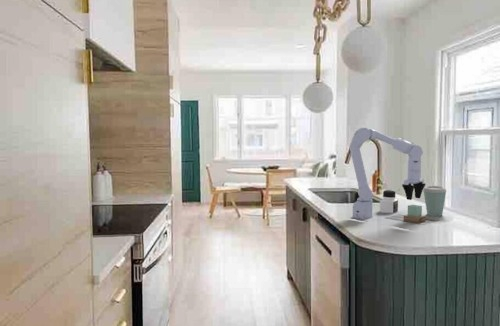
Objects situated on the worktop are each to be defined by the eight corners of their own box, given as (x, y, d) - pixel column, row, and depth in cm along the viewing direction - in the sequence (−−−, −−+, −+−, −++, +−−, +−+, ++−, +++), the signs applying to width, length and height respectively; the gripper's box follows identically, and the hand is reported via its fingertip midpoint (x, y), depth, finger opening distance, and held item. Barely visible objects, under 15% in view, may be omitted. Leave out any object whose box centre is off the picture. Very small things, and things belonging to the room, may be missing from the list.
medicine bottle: (393, 215, 211) (393, 191, 211) (379, 213, 216) (380, 190, 215) (397, 213, 217) (398, 190, 216) (384, 211, 221) (384, 189, 221)
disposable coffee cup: (447, 219, 201) (448, 188, 200) (422, 217, 205) (423, 187, 204) (444, 215, 211) (445, 185, 210) (421, 214, 215) (422, 185, 214)
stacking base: (423, 227, 184) (423, 219, 184) (383, 219, 199) (383, 212, 199) (438, 222, 193) (439, 215, 193) (399, 216, 208) (399, 209, 208)
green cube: (416, 216, 189) (416, 207, 189) (407, 215, 193) (407, 205, 192) (421, 215, 192) (421, 205, 192) (412, 214, 196) (412, 204, 195)
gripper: (413, 171, 190) (413, 201, 191) (430, 170, 199) (429, 198, 200) (399, 170, 195) (399, 199, 196) (416, 169, 204) (415, 196, 205)
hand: (413, 198), depth 198 cm, fingers open, 7 cm apart
